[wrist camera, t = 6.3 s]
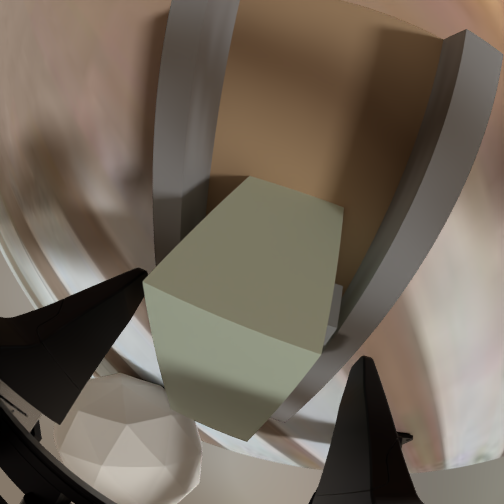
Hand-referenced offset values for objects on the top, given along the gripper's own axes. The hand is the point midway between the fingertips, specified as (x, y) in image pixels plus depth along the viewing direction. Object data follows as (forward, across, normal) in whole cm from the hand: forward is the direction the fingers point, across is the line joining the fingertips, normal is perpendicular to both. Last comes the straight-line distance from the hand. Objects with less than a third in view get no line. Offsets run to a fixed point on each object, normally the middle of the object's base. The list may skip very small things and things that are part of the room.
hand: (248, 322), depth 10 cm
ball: (+4, +9, +28) cm, 30 cm away
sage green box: (+3, 0, 0) cm, 3 cm away
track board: (+4, 0, 0) cm, 4 cm away
